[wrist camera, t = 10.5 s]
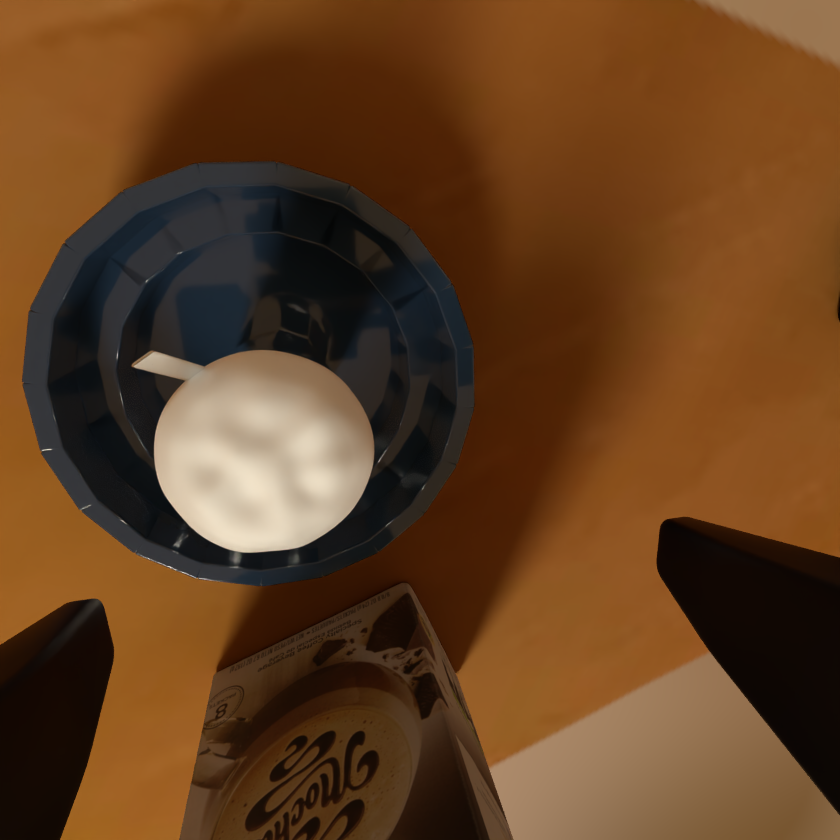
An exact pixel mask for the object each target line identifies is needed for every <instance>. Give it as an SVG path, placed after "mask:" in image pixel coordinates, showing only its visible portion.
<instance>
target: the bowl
mask: <svg viewBox="0 0 840 840" xmlns="http://www.w3.org/2000/svg"><path fill="white" fill-rule="evenodd" d="M30 309H31V310H30V311H29V315H28V325H27V335H26V346H25V356H24V366H23V376H22V382H24V383H23V388H24V392H25V396H26V399H27V403H28V407H29V411H30V414H31V418H32V422H33V425H34V429H35V433H36V437H37V440H38V444H39V448H40V450H41V451H42V452H41V454H42V455H43V457H44V458H45V460H46V461H47V463H48V464H49V466H50V467H51V469H52V470H53V472H54V473H55V475H56V476H57V478H58V479H59V481H60V482H61V483H62V485H63V486H64V488H65V489H66V491H67V492H68V494H69V495H70V497H71V498H72V500H73V501H74V503H75V504H76V506H77V507H78V509H79V510H82V512H83V513H84V514H85V515H86V516H88V517H89V518H90V519H91V520H93V521H94V522H95V523H96V524H98V525H99V526H100V527H101V528H103V529H104V530H105V531H107V532H108V533H109V534H110V535H112V536H113V537H114V538H115V539H117V540H118V541H119V542H120V543H122V544H123V545H124V546H126V547H127V548H128V549H129V550H131V551H132V552H134V553H135V552H136V554H137V555H139V556H141V557H144V558H146V559H149V560H151V561H154V562H156V563H159V564H161V565H164V566H166V567H168V568H171V569H173V570H176V571H178V572H181V573H183V574H186V575H188V576H191V577H193V578H198V579H201V580H210V581H219V582H227V583H236V584H245V585H254V586H261V585H262V586H268V585H275V584H281V583H288V582H295V581H301V580H308V579H314V578H321V577H323V576H327V575H329V574H331V573H333V572H336V571H338V570H340V569H342V568H344V567H347V566H349V565H351V564H353V563H356V562H358V561H360V560H362V559H365V558H367V557H369V556H371V555H374V554H376V553H378V551H381V550H382V549H383V548H385V547H386V546H387V545H388V544H389V543H391V542H392V541H393V540H394V539H395V538H397V537H398V536H399V535H400V534H401V533H403V532H404V531H405V530H406V529H407V528H409V527H410V526H411V525H412V524H413V523H415V522H416V521H417V520H418V519H419V518H421V517H422V516H423V515H424V513H425V512H426V511H427V509H428V508H429V506H430V505H431V504H432V502H433V501H434V499H435V498H436V496H437V495H438V493H439V492H440V490H441V489H442V487H443V486H444V484H445V483H446V481H447V480H448V478H449V477H450V475H451V474H452V472H453V471H454V469H455V468H456V464H457V463H458V461H459V458H460V454H461V451H462V448H463V444H464V441H465V438H466V434H467V431H468V428H469V424H470V421H471V418H472V414H473V411H474V406H475V393H474V347H473V346H472V345H473V342H472V339H471V336H470V333H469V330H468V327H467V324H466V321H465V318H464V315H463V312H462V309H461V306H460V303H459V300H458V297H457V294H456V291H455V288H454V285H453V284H451V280H450V279H449V278H448V276H447V275H446V274H445V272H444V271H443V270H442V268H441V267H440V266H439V264H438V263H437V262H436V260H435V259H434V257H433V256H432V255H431V253H430V252H429V251H428V249H427V248H426V247H425V245H424V244H423V243H422V241H421V240H420V239H419V237H418V236H417V235H416V233H415V232H414V231H413V229H410V227H409V225H407V224H406V223H404V222H403V221H402V220H400V219H399V218H397V217H396V216H395V215H393V214H392V213H390V212H389V211H388V210H386V209H385V208H383V207H382V206H381V205H379V204H378V203H376V202H375V201H374V200H372V199H371V198H369V197H368V196H367V195H365V194H364V193H362V192H361V191H360V190H358V189H357V188H355V187H354V186H350V185H349V184H348V183H345V182H342V181H339V180H336V179H333V178H329V177H326V176H323V175H320V174H317V173H314V172H310V171H307V170H304V169H301V168H298V167H295V166H291V165H288V164H285V163H282V162H277V163H276V162H275V161H241V162H200V163H198V164H197V163H193V164H191V165H188V166H185V167H183V168H180V169H177V170H175V171H172V172H169V173H167V174H164V175H161V176H159V177H156V178H153V179H151V180H148V181H145V182H143V183H140V184H137V185H135V186H132V187H130V188H127V189H124V190H123V192H120V193H119V194H118V195H116V196H115V197H114V198H113V199H112V200H111V201H110V202H108V203H107V204H106V205H105V206H104V207H103V208H102V209H100V210H99V211H98V212H97V213H96V214H95V215H94V216H92V217H91V218H90V219H89V220H88V221H87V222H86V223H85V224H83V225H82V226H81V227H80V228H79V229H78V230H77V231H75V232H74V233H73V234H72V235H71V236H70V237H69V238H67V239H66V240H65V243H64V244H62V246H61V248H60V250H59V252H58V254H57V256H56V258H55V260H54V262H53V264H52V266H51V268H50V270H49V272H48V274H47V275H46V277H45V279H44V281H43V283H42V285H41V287H40V289H39V291H38V293H37V295H36V297H35V299H34V301H33V303H32V305H31V307H30ZM276 330H281V331H284V332H287V333H290V334H293V335H296V336H299V337H302V338H305V339H308V340H309V341H310V342H311V344H312V345H313V346H314V348H315V349H316V351H317V352H318V353H319V355H320V356H321V357H322V359H323V360H324V361H325V363H326V364H327V365H328V366H329V367H330V368H331V369H332V371H333V372H334V373H335V374H336V375H337V376H338V377H339V378H340V379H341V380H342V381H343V382H344V383H345V384H346V385H347V386H348V387H349V388H350V390H351V391H352V392H353V394H354V395H355V396H356V398H357V399H358V401H359V402H360V404H361V406H362V407H363V409H364V411H365V413H366V415H367V418H368V420H369V423H370V425H371V429H372V433H373V439H374V461H373V467H372V471H371V474H370V477H369V480H368V483H367V485H366V487H365V490H364V492H363V494H362V496H361V497H360V499H359V501H358V502H357V504H356V505H355V507H354V508H353V509H352V511H351V512H350V513H349V514H348V515H347V516H346V517H345V518H344V519H343V520H342V521H341V522H340V523H339V524H338V525H336V526H335V527H334V528H333V529H331V530H330V531H328V532H327V533H326V534H324V535H322V536H321V537H319V538H318V539H316V540H314V541H312V542H310V543H308V544H306V545H304V546H301V547H298V548H294V549H288V550H278V551H266V552H251V553H248V552H237V551H232V550H229V549H226V548H223V547H221V546H219V545H216V544H214V543H212V542H210V541H209V540H207V539H205V538H204V537H202V536H201V535H200V534H198V533H197V532H196V531H195V530H194V529H192V528H191V527H190V526H189V525H188V524H187V523H186V521H185V520H184V519H183V518H182V517H181V516H180V515H179V513H178V512H177V511H176V510H175V509H174V507H173V506H172V505H171V503H170V502H169V501H168V499H167V498H166V496H165V495H164V493H163V491H162V489H161V486H160V484H159V481H158V477H157V473H156V468H155V461H154V440H155V433H156V428H157V424H158V421H159V418H160V416H161V413H162V411H163V409H164V407H165V406H166V404H167V402H168V401H169V399H170V398H171V396H172V395H173V394H174V392H175V391H176V390H177V389H178V388H179V387H180V386H181V385H182V384H183V383H184V382H185V380H181V379H177V378H173V377H168V376H164V375H160V374H156V373H152V372H148V371H144V370H140V369H136V368H133V367H132V366H131V365H132V364H133V363H134V362H135V361H136V360H138V359H139V358H141V357H142V356H144V355H145V354H146V353H148V352H149V351H152V350H153V351H158V352H161V353H165V354H168V355H171V356H174V357H177V358H180V359H183V360H186V361H189V362H192V363H195V364H198V365H202V366H206V365H208V364H210V363H212V362H214V361H216V360H218V359H220V358H222V357H223V356H225V355H227V354H228V353H230V352H231V351H232V350H234V349H235V348H237V347H238V346H239V345H241V344H242V343H244V342H245V341H247V340H248V339H250V338H253V337H256V336H260V335H263V334H267V333H270V332H273V331H276Z"/></svg>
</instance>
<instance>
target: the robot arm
mask: <svg viewBox="0 0 840 840" xmlns="http://www.w3.org/2000/svg"><path fill="white" fill-rule="evenodd" d="M838 318H839V321H840V308H839V313H838ZM657 569H658V572H659V575H660V577H661V578H662V580H663V581H664V583H665V585H666V586H667V588H668V589H669V591H670V592H671V594H672V595H673V597H674V598H675V600H676V601H677V603H678V604H679V606H680V607H681V609H682V611H683V612H684V614H685V615H686V617H687V618H688V620H689V621H690V623H691V624H692V626H693V627H694V629H695V630H696V632H697V634H698V635H699V637H700V638H701V640H702V641H703V642H704V644H705V645H706V647H707V648H708V650H709V651H710V652H711V654H712V655H713V656H714V658H715V659H716V660H717V662H718V663H719V664H720V665H721V667H722V668H723V669H724V670H725V672H726V673H727V674H728V675H729V676H730V678H731V679H732V680H733V682H734V683H735V684H736V685H737V687H738V688H739V689H740V691H741V692H742V693H743V694H744V696H745V697H746V698H747V699H748V701H749V702H750V703H751V704H752V706H753V707H754V708H755V709H756V711H757V712H758V713H759V714H760V716H761V717H762V718H763V719H764V721H765V722H766V723H767V724H768V726H769V727H770V728H771V729H772V731H773V732H774V733H775V735H776V736H777V737H778V738H779V739H780V741H781V742H782V743H783V744H784V746H785V747H786V748H787V750H788V751H789V752H790V753H791V755H792V756H793V757H794V758H795V760H796V761H797V762H798V763H799V765H800V766H801V767H802V768H803V770H804V771H805V772H806V773H807V775H808V776H809V777H810V779H811V780H812V781H813V782H814V784H815V785H816V786H817V787H818V789H819V790H820V791H821V792H822V793H823V795H824V796H825V797H826V799H827V800H828V801H829V802H830V804H831V805H832V806H833V807H834V809H835V810H836V811H837V813H838V814H839V815H840V558H839V557H835V556H832V555H828V554H824V553H821V552H817V551H813V550H809V549H806V548H802V547H798V546H794V545H791V544H787V543H783V542H779V541H776V540H772V539H768V538H765V537H761V536H757V535H753V534H750V533H746V532H742V531H738V530H735V529H731V528H727V527H723V526H720V525H716V524H712V523H709V522H705V521H701V520H697V519H694V518H690V517H679V518H672V519H667V520H665V521H664V522H663V523H662V524H661V526H660V532H659V542H658V551H657ZM113 659H114V646H113V642H112V638H111V633H110V629H109V625H108V621H107V617H106V613H105V609H104V606H103V604H102V603H101V601H99V600H98V599H87V600H80V601H73V602H69V603H66V604H64V605H63V606H61V607H60V608H58V609H56V610H55V611H53V612H52V613H50V614H48V615H47V616H45V617H44V618H42V619H41V620H39V621H37V622H36V623H34V624H33V625H31V626H29V627H28V628H26V629H25V630H23V631H22V632H20V633H18V634H17V635H15V636H14V637H12V638H11V639H9V640H7V641H6V642H4V643H3V644H1V645H0V840H60V838H61V835H62V833H63V830H64V827H65V825H66V822H67V819H68V817H69V814H70V811H71V808H72V806H73V803H74V800H75V798H76V795H77V792H78V790H79V787H80V784H81V781H82V778H83V775H84V772H85V769H86V767H87V763H88V760H89V756H90V752H91V749H92V745H93V741H94V737H95V733H96V729H97V725H98V721H99V717H100V713H101V709H102V705H103V701H104V697H105V693H106V689H107V685H108V681H109V677H110V673H111V669H112V665H113Z"/></svg>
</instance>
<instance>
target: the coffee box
mask: <svg viewBox="0 0 840 840" xmlns="http://www.w3.org/2000/svg"><path fill="white" fill-rule="evenodd" d="M179 840H513V837H512V834H511V831H510V829H509V826H508V823H507V820H506V817H505V814H504V811H503V808H502V805H501V802H500V799H499V797H498V794H497V791H496V788H495V785H494V782H493V779H492V776H491V773H490V770H489V767H488V765H487V762H486V759H485V756H484V753H483V750H482V747H481V744H480V741H479V738H478V735H477V732H476V729H475V726H474V724H473V721H472V718H471V715H470V713H469V710H468V707H467V704H466V701H465V698H464V695H463V693H462V690H461V686H460V684H459V681H458V678H457V676H456V674H455V672H454V670H453V668H452V666H451V663H450V661H449V659H448V657H447V655H446V653H445V651H444V649H443V647H442V645H441V643H440V641H439V639H438V637H437V635H436V633H435V631H434V629H433V627H432V625H431V623H430V621H429V619H428V617H427V615H426V613H425V611H424V610H423V608H422V606H421V604H420V602H419V600H418V598H417V597H416V595H415V593H414V591H413V589H412V588H411V586H410V585H409V584H408V583H401V584H399V585H396V586H394V587H392V588H390V589H388V590H386V591H384V592H382V593H380V594H378V595H376V596H374V597H372V598H370V599H368V600H366V601H364V602H362V603H359V604H357V605H355V606H353V607H351V608H349V609H347V610H345V611H343V612H341V613H339V614H337V615H335V616H333V617H330V618H328V619H326V620H324V621H322V622H320V623H318V624H316V625H314V626H312V627H310V628H308V629H306V630H304V631H302V632H300V633H297V634H295V635H293V636H291V637H289V638H287V639H285V640H283V641H281V642H279V643H277V644H275V645H273V646H271V647H269V648H267V649H264V650H262V651H260V652H258V653H256V654H254V655H252V656H250V657H248V658H246V659H244V660H242V661H240V662H238V663H236V664H234V665H231V666H229V667H227V668H225V669H223V670H221V671H219V672H217V673H216V674H215V675H214V676H213V681H212V686H211V691H210V695H209V700H208V705H207V710H206V715H205V720H204V725H203V730H202V734H201V739H200V743H199V748H198V752H197V759H196V763H195V767H194V772H193V778H192V782H191V785H190V791H189V795H188V799H187V804H186V809H185V814H184V819H183V824H182V829H181V834H180V839H179Z"/></svg>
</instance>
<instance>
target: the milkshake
mask: <svg viewBox="0 0 840 840" xmlns="http://www.w3.org/2000/svg"><path fill="white" fill-rule="evenodd" d="M131 366H132V367H133V368H136V369H140V370H144V371H148V372H152V373H156V374H160V375H164V376H168V377H173V378H177V379H181V380H185V382H184V383H183V384H182V385H181V386H180V387H179V388H178V389H177V390H176V391H175V392H174V394H173V395H172V396H171V398H170V399H169V401H168V402H167V404H166V406H165V407H164V409H163V411H162V413H161V416H160V418H159V421H158V424H157V428H156V433H155V440H154V461H155V468H156V473H157V477H158V481H159V484H160V486H161V489H162V491H163V493H164V495H165V496H166V498H167V499H168V501H169V502H170V503H171V505H172V506H173V507H174V509H175V510H176V511H177V512H178V513H179V515H180V516H181V517H182V518H183V519H184V520H185V521H186V523H187V524H188V525H189V526H190V527H191V528H192V529H194V530H195V531H196V532H197V533H198V534H200V535H201V536H202V537H204V538H205V539H207V540H209V541H210V542H212V543H214V544H216V545H219V546H221V547H223V548H226V549H229V550H232V551H237V552H248V553H251V552H266V551H278V550H288V549H294V548H298V547H301V546H304V545H306V544H308V543H310V542H312V541H314V540H316V539H318V538H319V537H321V536H322V535H324V534H326V533H327V532H328V531H330V530H331V529H333V528H334V527H335V526H336V525H338V524H339V523H340V522H341V521H342V520H343V519H344V518H345V517H346V516H347V515H348V514H349V513H350V512H351V511H352V509H353V508H354V507H355V505H356V504H357V502H358V501H359V499H360V497H361V496H362V494H363V492H364V490H365V487H366V485H367V483H368V480H369V477H370V474H371V471H372V467H373V461H374V439H373V433H372V429H371V425H370V423H369V420H368V418H367V415H366V413H365V411H364V409H363V407H362V406H361V404H360V402H359V401H358V399H357V398H356V396H355V395H354V394H353V392H352V391H351V390H350V388H349V387H348V386H347V385H346V384H345V383H344V382H343V381H342V380H341V379H340V378H339V377H338V376H337V375H336V374H335V373H334V372H333V371H332V369H331V368H330V367H329V366H328V365H327V364H326V363H325V361H324V360H323V359H322V357H321V356H320V355H319V353H318V352H317V351H316V349H315V348H314V346H313V345H312V344H311V342H310V341H309V340H308V339H305V338H302V337H299V336H296V335H293V334H290V333H287V332H284V331H281V330H276V331H273V332H270V333H267V334H263V335H260V336H256V337H253V338H250V339H248V340H247V341H245V342H244V343H242V344H241V345H239V346H238V347H237V348H235V349H234V350H232V351H231V352H230V353H228V354H227V355H225V356H223V357H222V358H220V359H218V360H216V361H214V362H212V363H210V364H208V365H206V366H202V365H198V364H195V363H192V362H189V361H186V360H183V359H180V358H177V357H174V356H171V355H168V354H165V353H161V352H158V351H153V350H152V351H149V352H148V353H146V354H145V355H144V356H142V357H141V358H139V359H138V360H136V361H135V362H134V363H133V364H132V365H131Z"/></svg>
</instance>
